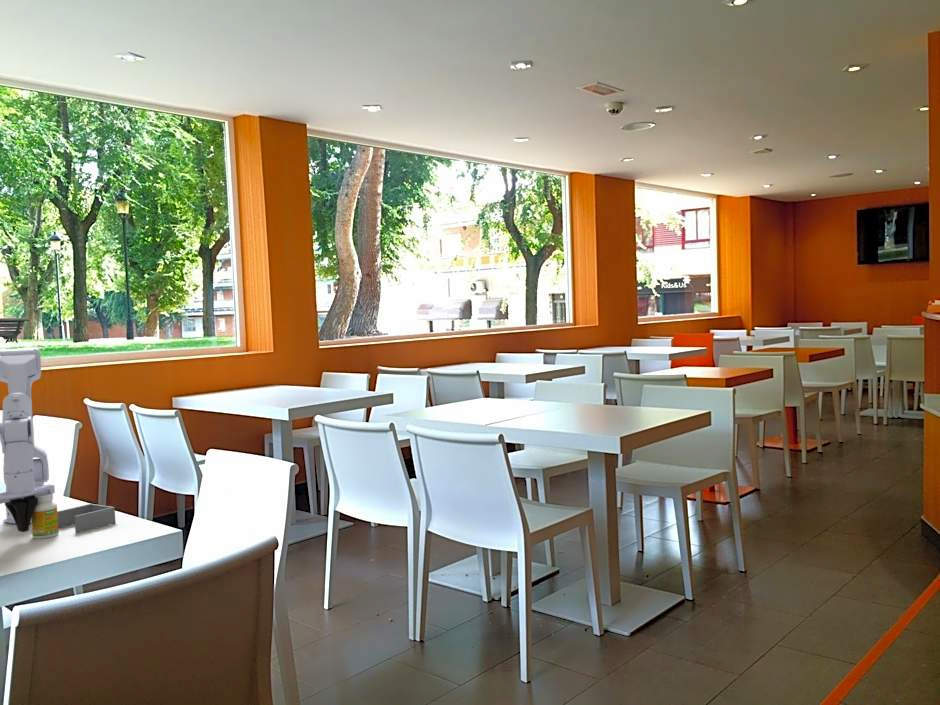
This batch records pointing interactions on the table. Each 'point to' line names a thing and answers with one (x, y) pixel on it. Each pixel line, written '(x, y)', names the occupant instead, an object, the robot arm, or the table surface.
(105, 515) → the crate
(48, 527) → the supplement bottle
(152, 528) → the table surface
